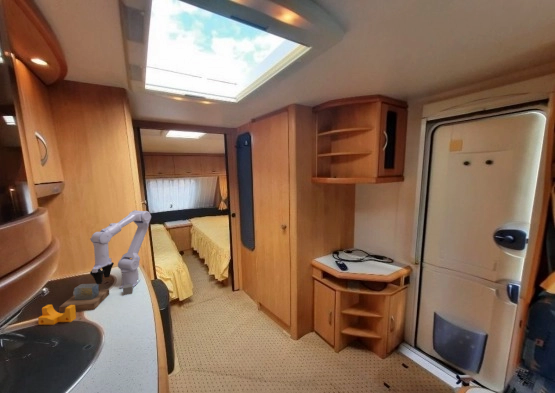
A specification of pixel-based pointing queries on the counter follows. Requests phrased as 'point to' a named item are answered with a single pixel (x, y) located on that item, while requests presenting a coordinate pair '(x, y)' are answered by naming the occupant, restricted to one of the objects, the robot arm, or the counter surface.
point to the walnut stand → (85, 302)
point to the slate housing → (86, 291)
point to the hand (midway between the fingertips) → (103, 280)
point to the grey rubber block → (127, 289)
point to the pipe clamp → (56, 315)
